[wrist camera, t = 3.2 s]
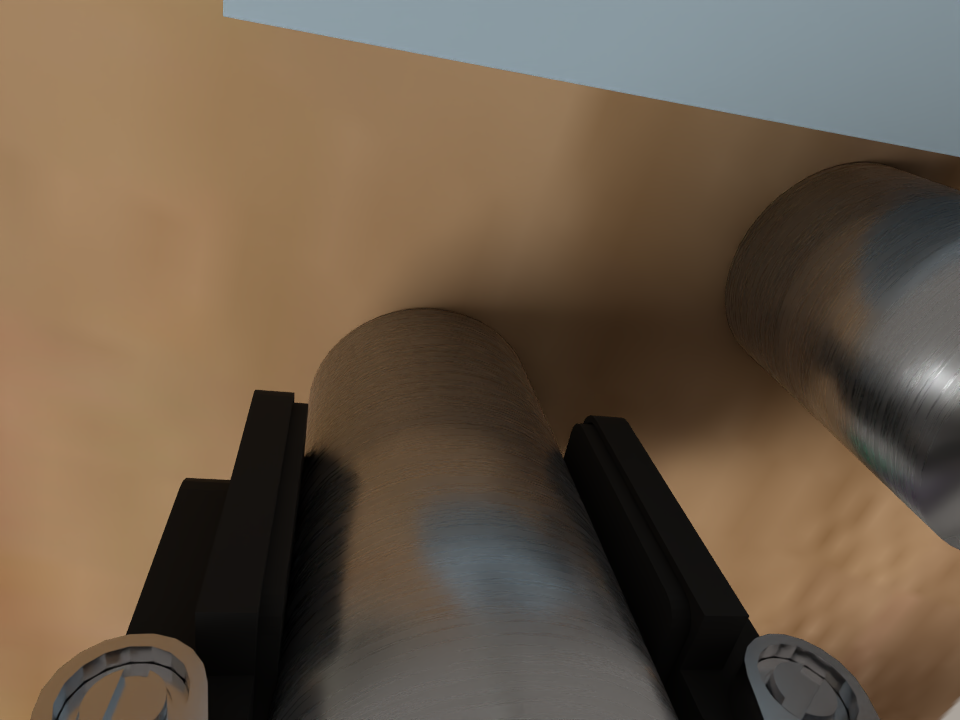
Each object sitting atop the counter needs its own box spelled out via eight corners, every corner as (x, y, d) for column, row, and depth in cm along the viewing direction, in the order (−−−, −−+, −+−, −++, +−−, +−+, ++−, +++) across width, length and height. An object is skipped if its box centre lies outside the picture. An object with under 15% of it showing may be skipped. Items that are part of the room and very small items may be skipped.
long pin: (316, 296, 11) (152, 1432, 2) (550, 321, 12) (1075, 1214, 3) (301, 492, 13) (175, 1557, 4) (505, 500, 14) (763, 1391, 5)
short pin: (778, 143, 11) (1051, 248, 7) (975, 182, 12) (1327, 298, 8) (694, 358, 13) (865, 552, 8) (871, 378, 14) (1106, 561, 9)
